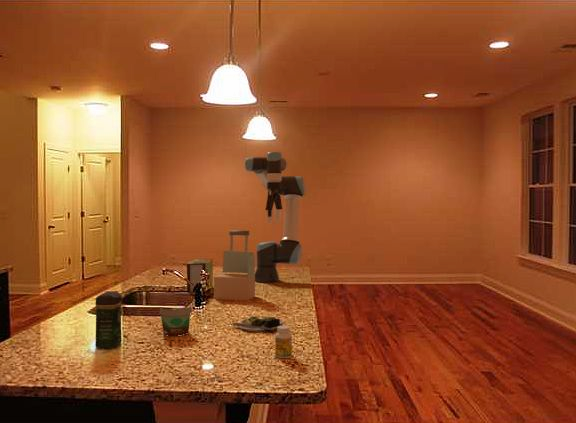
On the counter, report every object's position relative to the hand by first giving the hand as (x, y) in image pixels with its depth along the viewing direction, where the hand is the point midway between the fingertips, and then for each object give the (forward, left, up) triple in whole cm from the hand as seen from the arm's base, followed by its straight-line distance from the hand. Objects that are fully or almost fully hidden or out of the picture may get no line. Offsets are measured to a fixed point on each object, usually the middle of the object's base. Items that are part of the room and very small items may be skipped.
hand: (274, 222), depth 263 cm
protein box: (+2, -41, -37) cm, 56 cm away
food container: (+84, -14, -37) cm, 93 cm away
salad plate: (+65, +13, -38) cm, 77 cm away
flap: (+11, -16, -15) cm, 25 cm away
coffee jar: (+102, -31, -37) cm, 113 cm away
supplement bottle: (+98, +30, -37) cm, 109 cm away
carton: (+16, -16, -37) cm, 44 cm away
